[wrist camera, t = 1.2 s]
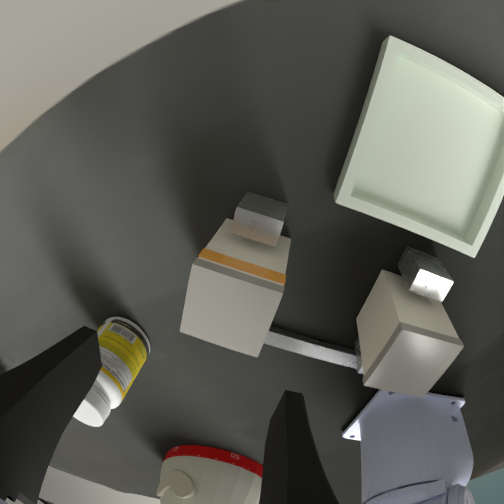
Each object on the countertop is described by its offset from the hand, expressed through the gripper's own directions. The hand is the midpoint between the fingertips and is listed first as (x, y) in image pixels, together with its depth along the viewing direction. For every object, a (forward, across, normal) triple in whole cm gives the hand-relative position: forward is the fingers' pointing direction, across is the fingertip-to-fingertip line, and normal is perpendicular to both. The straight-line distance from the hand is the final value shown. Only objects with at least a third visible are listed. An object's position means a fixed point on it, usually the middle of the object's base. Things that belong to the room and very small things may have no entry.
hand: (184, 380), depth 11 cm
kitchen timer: (+10, -3, +31) cm, 33 cm away
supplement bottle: (+11, +8, +11) cm, 17 cm away
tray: (+10, -9, -10) cm, 17 cm away
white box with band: (+10, -1, 0) cm, 10 cm away
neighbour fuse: (+10, -11, 0) cm, 15 cm away
